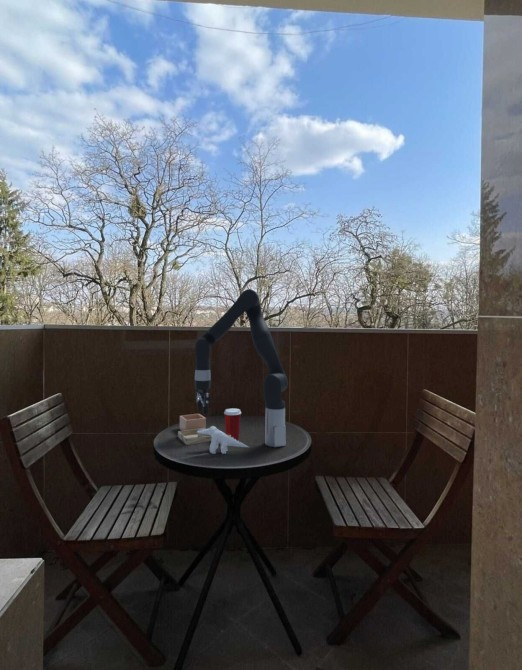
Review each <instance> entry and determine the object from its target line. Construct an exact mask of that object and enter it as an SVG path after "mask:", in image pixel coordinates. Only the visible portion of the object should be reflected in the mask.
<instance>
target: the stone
mask: <svg viewBox="0 0 522 670" xmlns="http://www.w3.org/2000/svg"><path fill="white" fill-rule="evenodd" d="M205 429H207V427H206V428H199V429H198V431H202V430H205ZM204 436H207V434H201V433H198V437H204Z"/></svg>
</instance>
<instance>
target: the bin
mask: <svg viewBox="0 0 522 670" xmlns="http://www.w3.org/2000/svg"><path fill="white" fill-rule="evenodd" d="M199 428H206V429H207V417H205V416H203V415H202V414H200V413H194V414H184V415H179V431H184V430H192V429H199Z"/></svg>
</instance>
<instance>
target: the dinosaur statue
mask: <svg viewBox="0 0 522 670" xmlns="http://www.w3.org/2000/svg"><path fill="white" fill-rule="evenodd" d="M197 433H201V434H207V435H211V437H212V439H211V441H210V445H209V453H210V454H212V455H215V454H217V449H218V448H219V445H220V452H221V454H222V455H224V454H225V455H227V452H228V447H236V448H237V447H242V448H249V446H248V445H246V444H245V443H243V442H241V441H240V440H236V439H234V438H233V437H231V435H230V436H228V435H226V432H223V431H221V430H220V429H218V428H217V427H216V426H215V425H211V426H210V427H208V428H206V429H205V430H202V431H197Z"/></svg>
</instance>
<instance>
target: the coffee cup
mask: <svg viewBox="0 0 522 670" xmlns="http://www.w3.org/2000/svg"><path fill="white" fill-rule="evenodd" d="M223 414H224V421H225V422H224V423H225V426H224V427H225V434H226V435H228V436H230V435H231V437H233V438H234V439H236V440H237V441H240V429H241V416H242V415H241V414H242V411H241V409H239V408H226V409H225V410H224V412H223Z"/></svg>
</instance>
